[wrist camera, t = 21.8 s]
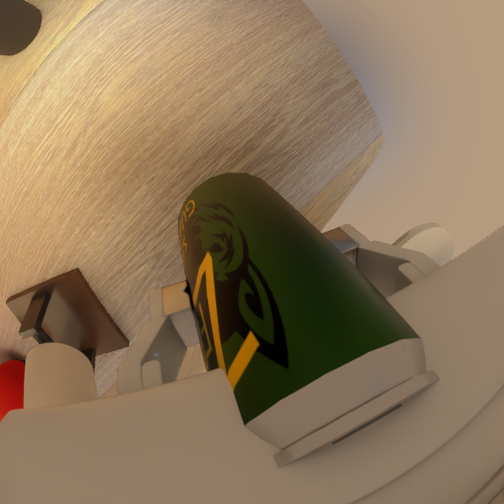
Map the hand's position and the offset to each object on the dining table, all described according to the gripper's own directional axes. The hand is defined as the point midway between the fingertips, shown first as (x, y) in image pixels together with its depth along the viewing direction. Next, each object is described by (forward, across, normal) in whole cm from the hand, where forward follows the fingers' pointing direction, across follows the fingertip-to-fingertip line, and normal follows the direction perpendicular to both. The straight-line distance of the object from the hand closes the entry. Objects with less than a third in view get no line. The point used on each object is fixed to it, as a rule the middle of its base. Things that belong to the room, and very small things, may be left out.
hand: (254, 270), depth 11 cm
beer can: (+5, 0, 0) cm, 5 cm away
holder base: (+20, +24, +14) cm, 34 cm away
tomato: (+20, +42, +22) cm, 51 cm away
